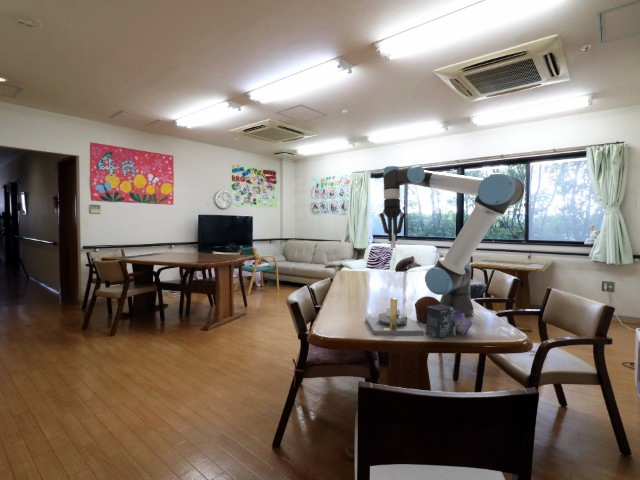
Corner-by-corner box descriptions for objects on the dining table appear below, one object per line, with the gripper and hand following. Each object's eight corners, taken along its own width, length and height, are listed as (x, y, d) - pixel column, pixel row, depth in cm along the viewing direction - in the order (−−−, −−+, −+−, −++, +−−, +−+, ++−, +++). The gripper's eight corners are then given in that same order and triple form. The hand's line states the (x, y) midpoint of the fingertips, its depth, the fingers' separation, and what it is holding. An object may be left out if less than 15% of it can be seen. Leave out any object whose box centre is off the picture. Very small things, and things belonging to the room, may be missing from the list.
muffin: (442, 327, 128) (443, 301, 128) (413, 323, 132) (414, 299, 131) (441, 318, 139) (442, 295, 139) (414, 316, 143) (415, 293, 142)
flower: (467, 321, 113) (464, 303, 121) (443, 328, 117) (441, 309, 125) (478, 340, 116) (473, 321, 124) (453, 346, 119) (451, 327, 128)
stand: (408, 320, 136) (408, 317, 136) (423, 334, 119) (423, 330, 119) (365, 320, 135) (365, 317, 135) (374, 334, 118) (374, 330, 118)
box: (438, 339, 114) (439, 309, 113) (425, 335, 119) (426, 306, 118) (452, 335, 118) (453, 306, 117) (439, 331, 123) (440, 303, 122)
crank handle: (378, 316, 135) (379, 289, 134) (406, 318, 132) (406, 291, 132) (377, 328, 119) (378, 298, 118) (409, 330, 117) (409, 300, 116)
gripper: (402, 200, 161) (403, 248, 161) (376, 200, 160) (377, 248, 159) (407, 197, 154) (409, 247, 153) (381, 197, 152) (382, 248, 152)
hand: (392, 248), depth 156 cm, fingers closed
